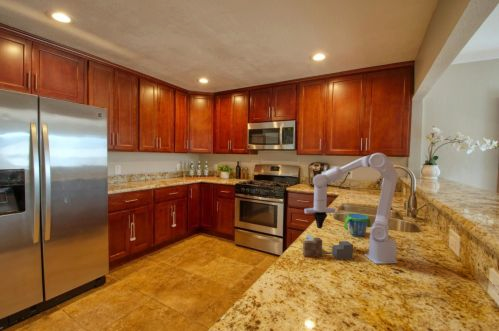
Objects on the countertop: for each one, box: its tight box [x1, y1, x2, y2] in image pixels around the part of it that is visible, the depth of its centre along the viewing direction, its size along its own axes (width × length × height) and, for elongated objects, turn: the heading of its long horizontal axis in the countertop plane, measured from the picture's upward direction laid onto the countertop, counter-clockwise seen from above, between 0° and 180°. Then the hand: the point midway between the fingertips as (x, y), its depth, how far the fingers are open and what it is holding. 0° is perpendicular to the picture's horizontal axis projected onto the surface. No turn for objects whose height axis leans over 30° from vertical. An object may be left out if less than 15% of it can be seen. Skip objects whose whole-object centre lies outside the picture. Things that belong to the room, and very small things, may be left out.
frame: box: [302, 237, 332, 258], centre depth 97 cm, size 21×4×7 cm, turn 96°
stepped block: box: [331, 240, 354, 260], centre depth 95 cm, size 7×4×6 cm, turn 96°
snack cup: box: [343, 212, 372, 237], centre depth 121 cm, size 16×10×10 cm
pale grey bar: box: [305, 233, 315, 241], centre depth 104 cm, size 12×2×4 cm, turn 11°
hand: (319, 227), depth 106 cm, fingers closed
